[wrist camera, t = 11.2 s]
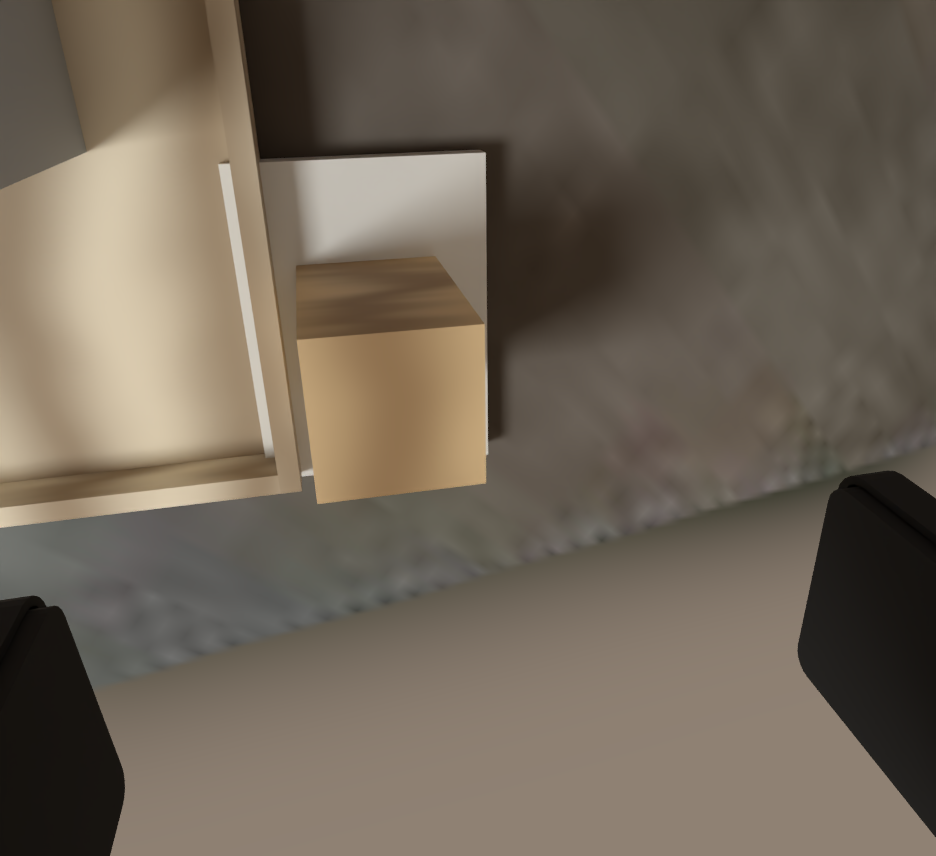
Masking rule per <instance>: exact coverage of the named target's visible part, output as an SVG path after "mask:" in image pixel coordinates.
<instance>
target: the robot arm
mask: <svg viewBox="0 0 936 856" xmlns="http://www.w3.org/2000/svg"><path fill="white" fill-rule="evenodd" d="M798 658H799V661H800V664H801V666H802V669H803V671H804V672H805V674H806V675H807V677H808V678H809V679H810V681H811V682H812V683H813V685H814V686H815V687H816V688H817V690H819V692H820V693H821V695H822V696H823V697H824V698H825V700H826V701H827V702H828V703H829V705H830V706H831V707H832V708H833V710H834V711H835V712H836V713H837V714H838V716H839V717H840V718H841V720H842V721H843V722H844V723H845V724H846V726H847V727H848V728H849V730H850V731H851V732H852V733H853V735H854V736H855V737H856V738H857V740H858V741H859V742H860V743H861V745H862V746H863V747H864V748H865V749H866V751H867V752H868V753H869V755H870V756H871V757H872V758H873V760H874V761H875V762H876V763H877V765H878V766H879V767H880V768H881V769H882V771H883V772H884V773H885V775H886V776H887V777H888V778H889V780H890V781H891V782H892V783H893V785H894V786H895V787H896V788H897V790H898V791H899V792H900V793H901V795H902V796H903V797H904V798H905V799H906V801H907V802H908V803H909V805H910V806H911V807H912V808H913V810H914V811H915V812H916V813H917V815H918V816H919V817H920V818H921V820H922V821H923V822H924V823H925V825H926V826H927V827H928V828H929V830H930V831H931V832H932V833H933V835H934V836H935V837H936V499H935V498H934V497H933V496H931V495H930V494H929V493H927V492H926V491H924V490H923V489H922V488H920V487H919V486H917V485H916V484H914V483H913V482H912V481H910V480H909V479H907V478H906V477H905V476H903V475H902V474H899V473H897V472H895V471H882V472H875V473H869V474H862V475H855V476H850V477H847V478H845V479H844V480H843V481H842V482H841V483H840V485H839V488H838V490H835V491H834V492H833V493H832V494H831V495H830V498H829V500H828V504H827V509H826V514H825V519H824V523H823V528H822V533H821V538H820V543H819V548H818V552H817V557H816V562H815V566H814V571H813V576H812V581H811V585H810V590H809V595H808V600H807V604H806V610H805V614H804V619H803V624H802V628H801V633H800V638H799V643H798ZM124 781H125V780H124V773H123V769H122V766H121V763H120V760H119V758H118V755H117V753H116V750H115V747H114V745H113V742H112V739H111V737H110V734H109V732H108V729H107V726H106V724H105V721H104V718H103V715H102V713H101V710H100V708H99V705H98V702H97V700H96V697H95V694H94V692H93V689H92V686H91V684H90V681H89V678H88V676H87V673H86V670H85V668H84V665H83V662H82V660H81V657H80V655H79V652H78V649H77V647H76V644H75V641H74V639H73V636H72V633H71V631H70V628H69V625H68V623H67V620H66V617H65V615H64V613H63V611H62V610H61V609H60V608H59V607H58V606H50V607H46V605H45V603H44V601H43V600H42V599H41V598H40V597H38V596H27V597H20V598H13V599H6V600H0V856H110V853H111V849H112V845H113V841H114V838H115V834H116V830H117V825H118V821H119V818H120V814H121V810H122V806H123V801H124V793H125V783H124Z"/></svg>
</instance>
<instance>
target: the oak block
mask: <svg viewBox="0 0 936 856" xmlns="http://www.w3.org/2000/svg"><path fill="white" fill-rule="evenodd" d="M296 332H297V347H298V355H299V363H300V371H301V379H302V387H303V394H304V402H305V410H306V418H307V426H308V434H309V441H310V449H311V457H312V465H313V473H314V481H315V488H316V496H317V504H321V503H330V502H338V501H346V500H354V499H362V498H370V497H378V496H386V495H394V494H402V493H410V492H418V491H427V490H435V489H443V488H451V487H459V486H467V485H475V484H483V483H486V414H485V324H484V322H483V321H482V320H481V318H480V317H479V315H478V314H477V313H476V311H475V310H474V309H473V307H472V306H471V304H470V303H469V302H468V300H467V299H466V298H465V296H464V295H463V293H462V292H461V291H460V289H459V288H458V287H457V285H456V284H455V282H454V281H453V280H452V278H451V277H450V276H449V274H448V273H447V271H446V270H445V269H444V267H443V266H442V265H441V263H440V262H439V260H438V259H437V258H436V256H430V257H415V258H400V259H385V260H370V261H356V262H341V263H326V264H311V265H296Z"/></svg>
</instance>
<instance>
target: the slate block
mask: <svg viewBox="0 0 936 856" xmlns="http://www.w3.org/2000/svg"><path fill="white" fill-rule="evenodd" d="M86 152H87V150H86V146H85V142H84V138H83V133H82V129H81V125H80V121H79V116H78V112H77V108H76V104H75V99H74V95H73V91H72V87H71V82H70V78H69V74H68V70H67V65H66V61H65V57H64V52H63V48H62V44H61V40H60V35H59V31H58V27H57V23H56V18H55V14H54V10H53V6H52V1H51V0H0V189H3V188H5V187H7V186H9V185H12V184H14V183H16V182H19V181H21V180H23V179H26V178H28V177H30V176H33V175H35V174H37V173H40V172H42V171H44V170H46V169H49V168H51V167H53V166H56V165H58V164H60V163H63V162H65V161H67V160H70V159H72V158H74V157H77V156H79V155H81V154H83V153H86Z"/></svg>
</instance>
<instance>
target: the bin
mask: <svg viewBox="0 0 936 856" xmlns="http://www.w3.org/2000/svg"><path fill="white" fill-rule="evenodd" d="M51 1H52V6H53V10H54V14H55V18H56V23H57V27H58V31H59V35H60V40H61V44H62V48H63V52H64V57H65V61H66V65H67V70H68V74H69V78H70V82H71V87H72V91H73V95H74V99H75V104H76V108H77V112H78V116H79V121H80V125H81V129H82V133H83V138H84V142H85V146H86V150H87V152H86V153H83V154H81V155H79V156H77V157H74V158H72V159H70V160H67V161H65V162H63V163H60V164H58V165H56V166H53V167H51V168H49V169H46V170H44V171H42V172H40V173H37V174H35V175H33V176H30V177H28V178H26V179H23V180H21V181H19V182H16V183H14V184H12V185H9V186H7V187H5V188H3V189H0V528H1V527H10V526H18V525H26V524H34V523H43V522H51V521H59V520H67V519H76V518H84V517H92V516H100V515H109V514H117V513H125V512H133V511H142V510H150V509H158V508H166V507H175V506H183V505H191V504H199V503H208V502H216V501H224V500H232V499H241V498H249V497H257V496H265V495H274V494H282V493H290V492H298V491H302V472H301V465H300V457H299V450H298V443H297V435H296V428H295V421H294V414H293V406H292V399H291V392H290V385H289V377H288V370H287V363H286V355H285V348H284V341H283V334H282V326H281V319H280V312H279V305H278V297H277V290H276V283H275V276H274V268H273V261H272V254H271V246H270V239H269V232H268V225H267V217H266V210H265V203H264V196H263V188H262V181H261V174H260V166H259V161H260V154H259V147H258V139H257V132H256V125H255V117H254V110H253V103H252V95H251V88H250V81H249V73H248V66H247V59H246V52H245V44H244V37H243V30H242V22H241V15H240V8H239V0H51ZM227 162H229V163H230V170H231V176H232V182H233V189H234V195H235V202H236V208H237V215H238V221H239V228H240V234H241V241H242V247H243V254H244V260H245V267H246V273H247V280H248V286H249V293H250V299H251V305H252V312H253V318H254V325H255V331H256V338H257V344H258V351H259V357H260V364H261V370H262V377H263V383H264V390H265V396H266V403H267V409H268V416H269V422H270V428H271V435H272V441H273V448H274V454H275V457H273V458H265V452H264V446H263V440H262V433H261V427H260V421H259V415H258V408H257V402H256V396H255V390H254V384H253V377H252V371H251V365H250V359H249V353H248V346H247V340H246V334H245V328H244V322H243V315H242V309H241V303H240V297H239V291H238V284H237V278H236V272H235V266H234V259H233V253H232V247H231V241H230V235H229V228H228V222H227V216H226V210H225V204H224V197H223V191H222V185H221V179H220V173H219V166H218V164H219V163H227Z"/></svg>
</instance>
